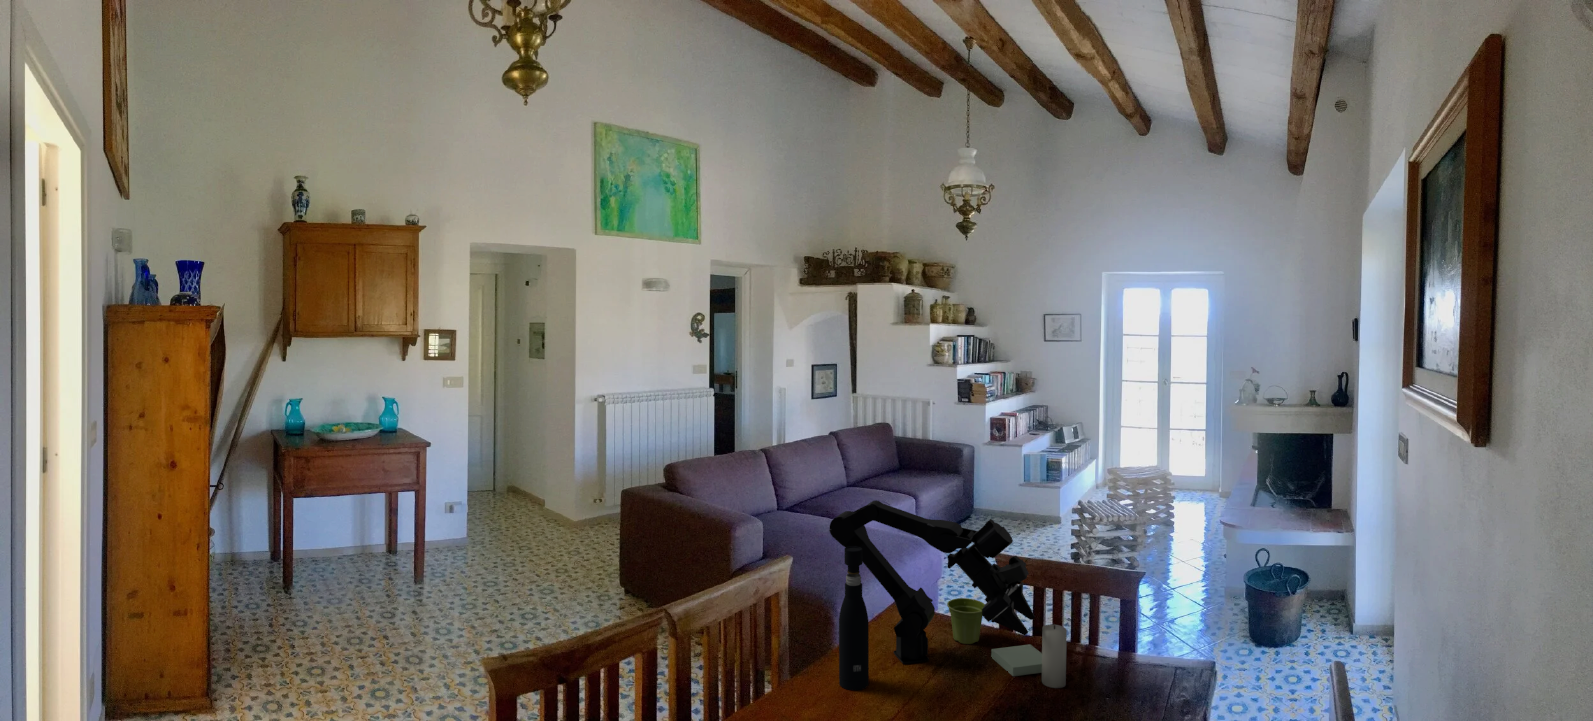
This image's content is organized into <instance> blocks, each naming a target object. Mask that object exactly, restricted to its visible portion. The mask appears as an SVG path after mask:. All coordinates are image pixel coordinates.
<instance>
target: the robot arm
mask: <svg viewBox="0 0 1593 721" xmlns="http://www.w3.org/2000/svg"><path fill="white" fill-rule="evenodd" d="M873 521H874V522H877V523H880V524H882V525H884V526H885V525H886V526H887V527H891V528H893V529H896V530H898V531H902V532H905V533H908V534H910V535H913V536H915V537H919V538H920V539H922V540H923V541H924V542H926V543H927V544H928V545H929V546H931V547H932V548H934V549H935V550H938V551H940V552H941V553H943V554H948V555H947V556H946V558H947V569H951V568H952V567H954V566H956V565H957V566H958V567H959V568H960V569H961V571H962V572H963V573H965V576H967V577H968V578H969V579H970V580H971V582H972V584H971V586H972V587H973V588H974V589H976V588H977V589H979V591H980V592H981V593H982V594H983V595H984V596H985V598H984V601H985V602H986V603H984V604H985V605H984V607H983V609H982V618H984V620H986V621H987V622H988V623H990V622H991V623H992V624H993V623H996V624H998V625H1001V626H1003V627H1006V628H1008V629H1009V630H1012V631H1014V632H1017V634H1021V635H1023V636H1026V635H1027V634H1029V631H1028V629H1027V627H1026V626H1025V625H1024V623H1023V622H1022V620H1021V619H1020V618H1019V616H1018V615H1017V613H1016V612H1018V613H1019V614H1021V615H1022V616H1024V617H1025V618H1027V619H1029V620H1031V621H1033V620H1034V619H1035V618H1036V616H1035V614H1034V612H1033V611H1032V608H1031V606H1030V605H1029V603H1028V601H1027V599H1026V597H1025V595H1024V582H1023V581H1024V580H1026V579H1027V578H1028V575H1029V574H1030V573H1029V570H1028V569H1027V562H1026V561H1024V559H1021V558H1020V557H1019V556H1017V555H1014V556H1011V557H1010V558H1009V560H1008V564H1005V565H1004V566H1002V567H1000V566H999V565H998V564H997V563H991V562H990V561H989V560H988V559H989V558H991V559H995V558H996V557H998V555H999V554H1001V553H1002V552H1003V551H1004V550H1006V548H1008V547H1009V546H1011V544H1012V543H1013V542H1014V540H1013V538H1012V535H1011V534H1010V532H1009V531H1008V530H1007V529H1006V528H1005V527H1004V526H1002V525H1001V524H1000V523H998V522H995V521H994V519H991V518H990V519H988V521H986V523H985V524H983V526H982V527H981V528H979V529H978V530H973V529H970V528H966V527H962V525H961V524H960V523H958V522H955V521H950V520H944V519H931V518H926V517H922V516H920V515H917V514H915V513H911V512H909V511H905V510H902V509H900V508H897V507H894V506H891V505H888V504H885V503H883V502H881V501H880V500H872V501H870V502H869V503H868V504H866V505H864V506H862V507H860V508H858V509H856V510H854V511H851V510H846V511H843V512H841V513H840V514H838V515H837V516H835V517H833V519H832V520H831V521H830V523H829V530H828V531H829V534H830V535H831V537H832V538H833V539H834V540H836V541H837V542H838V543H839V545H841V546H842V547H844V548H846V547H849V546H857V547H861V548H862V564H864V566H865V567H866V568H867V570H869V572H870V573H871V574H872V575H873V577H875V578H876V580H877V582H879V584H880V585H881V586H882V587H883V588H884V590H886V593H888V594H889V596H890V597H891V598H892V599H893V601H894V603H895V606H896V609H897V612H898V614H899V616H900V620H899V621H898V622H897V623H896V624H895V626H894V627H893V631H894V632H895V642H896V643H895V645H896V646H895V650H893V654H894V655H895V656H896V658H897V659H898V660H899V661H900V663H901V664H902V665H903V664H904V665H905V664H906V665H907V664H915V663H923V662H929V660H930V659H929V657H928V654H929V637H928V636H927V632H926V631H925V630H926V628H927V627H928V626H929V625H930V623H931V622H932V620H933V619H934V616H935V614H936V611H935V610H936V608H935V606H934V603H932V602H933V601H934V599H933V598H930V597H929V596H928V595H927V593H926V592H925V590H924V589H923V587H919V588H918V589H917V590H916V589H914V588H913V587H911V586H909V585H908V584H907V582H906V581H905V580H904V579H903V578H902V576H901V575H900V574H899V573H898V571H897V570H896V569H895V568H894V567H893V566H892V564H891V563H890V562H889V561H888V560H887V558H886V557H885V556H884V555H883V554H882V552H881V551H880V550H879V549H878V547H876V546H875V544H874V543H873V542H872V541H871V540H870V538H869V534H868V532H867V528H866V526H865V525H867V524H868V523H870V522H873ZM970 545H971V546H970ZM968 546H969V547H968ZM955 551H956V552H955ZM953 552H955V553H953ZM1018 584H1019V585H1018ZM1014 610H1015V611H1014Z"/></svg>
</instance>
